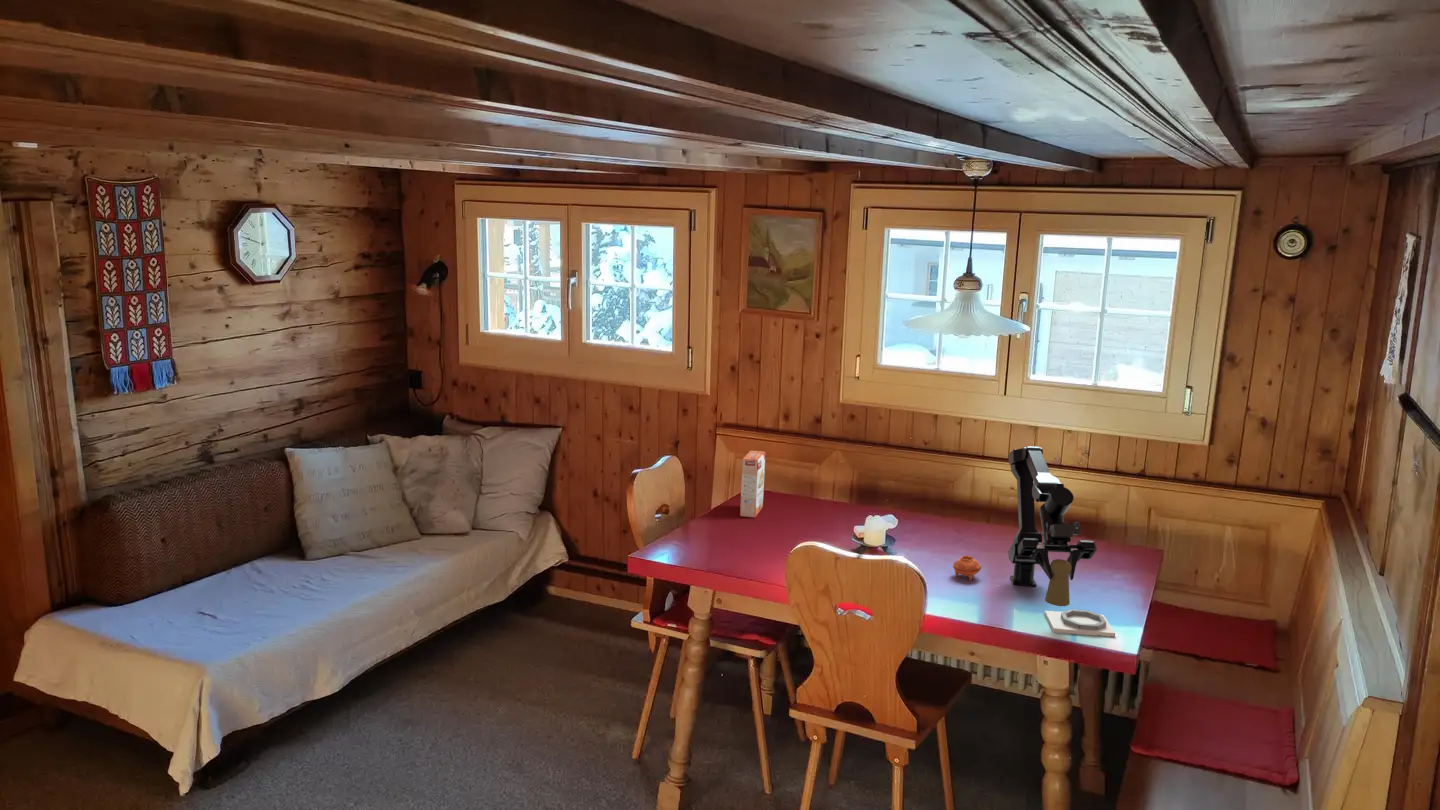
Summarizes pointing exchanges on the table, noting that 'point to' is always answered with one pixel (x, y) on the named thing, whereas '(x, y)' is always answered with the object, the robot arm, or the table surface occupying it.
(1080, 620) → the socket tray
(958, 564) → the pot
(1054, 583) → the olive brown pawn
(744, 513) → the cracker box
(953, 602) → the table surface
